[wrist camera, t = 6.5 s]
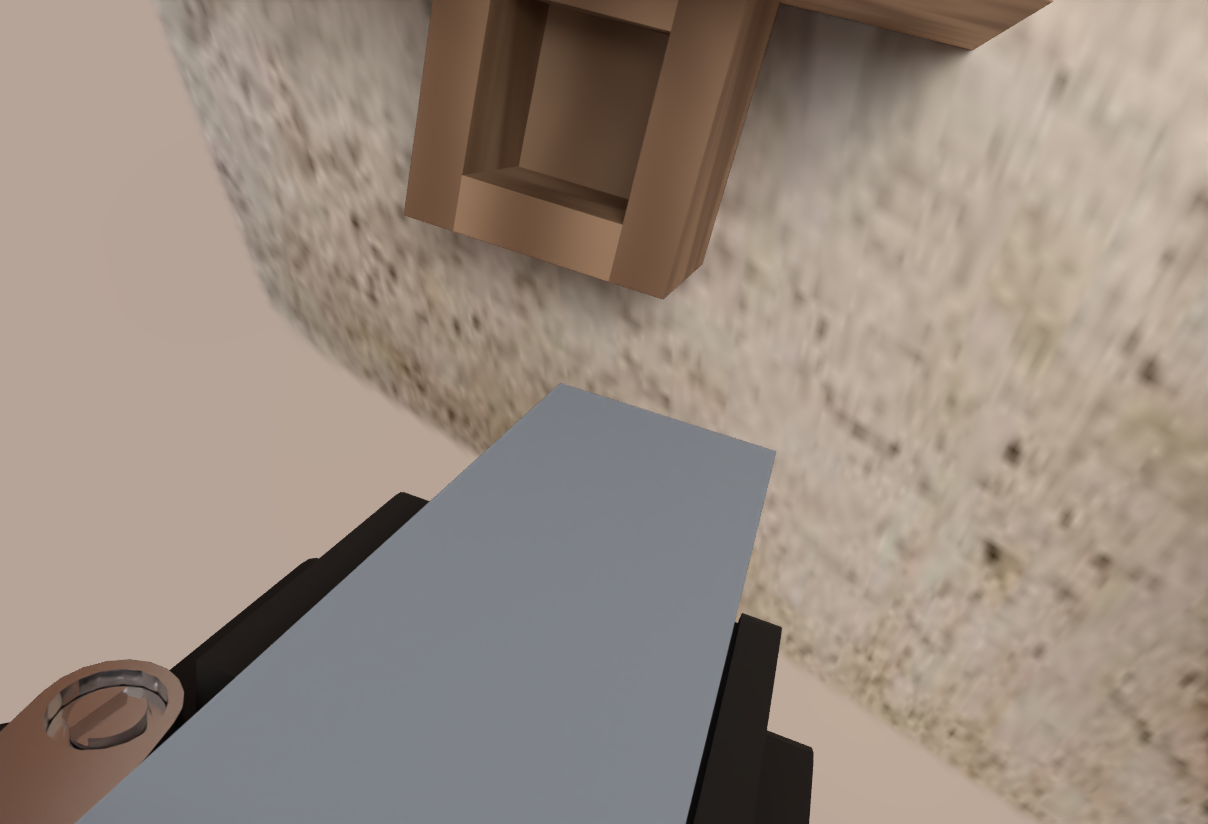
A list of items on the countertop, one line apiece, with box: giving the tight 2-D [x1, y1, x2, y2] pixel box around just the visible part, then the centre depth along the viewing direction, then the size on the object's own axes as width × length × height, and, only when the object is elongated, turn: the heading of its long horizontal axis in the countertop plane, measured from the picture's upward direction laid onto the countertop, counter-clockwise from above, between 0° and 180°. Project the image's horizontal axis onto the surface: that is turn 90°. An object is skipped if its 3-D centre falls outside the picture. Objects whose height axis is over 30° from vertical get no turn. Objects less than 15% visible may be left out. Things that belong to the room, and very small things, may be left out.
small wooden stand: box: [404, 0, 1053, 299], centre depth 26 cm, size 24×12×14 cm, turn 76°
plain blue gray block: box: [75, 383, 776, 824], centre depth 10 cm, size 4×4×12 cm
